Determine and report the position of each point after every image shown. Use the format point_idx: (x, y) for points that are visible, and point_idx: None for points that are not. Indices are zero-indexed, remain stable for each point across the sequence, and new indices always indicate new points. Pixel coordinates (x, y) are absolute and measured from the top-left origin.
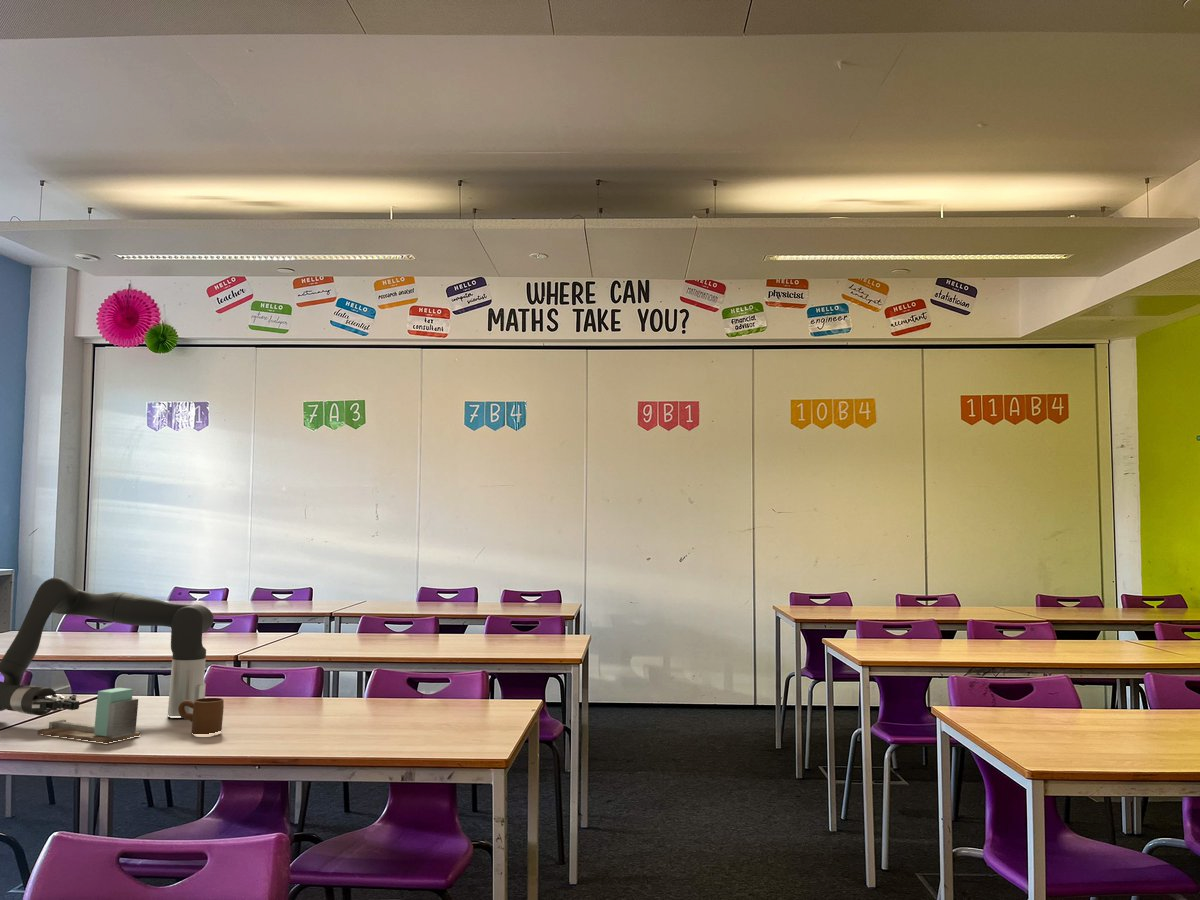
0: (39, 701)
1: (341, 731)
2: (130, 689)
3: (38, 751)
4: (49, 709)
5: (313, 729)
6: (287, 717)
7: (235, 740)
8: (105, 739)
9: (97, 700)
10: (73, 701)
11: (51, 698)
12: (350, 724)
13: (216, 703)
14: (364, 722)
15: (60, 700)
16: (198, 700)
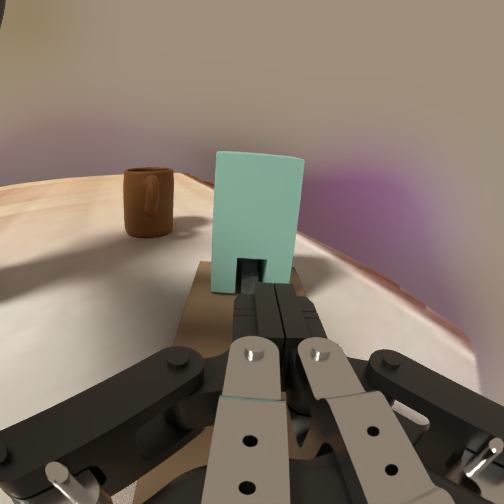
0: (502, 419)
1: (110, 194)
2: (229, 151)
3: (421, 316)
4: (400, 417)
5: (101, 201)
6: (22, 222)
7: (174, 213)
8: (293, 269)
9: (300, 191)
10: (287, 288)
11: (405, 451)
12: (75, 197)
13: (160, 170)
14: (67, 196)
15: (344, 355)
16: (144, 174)
